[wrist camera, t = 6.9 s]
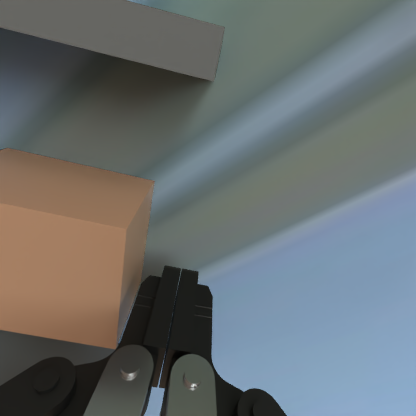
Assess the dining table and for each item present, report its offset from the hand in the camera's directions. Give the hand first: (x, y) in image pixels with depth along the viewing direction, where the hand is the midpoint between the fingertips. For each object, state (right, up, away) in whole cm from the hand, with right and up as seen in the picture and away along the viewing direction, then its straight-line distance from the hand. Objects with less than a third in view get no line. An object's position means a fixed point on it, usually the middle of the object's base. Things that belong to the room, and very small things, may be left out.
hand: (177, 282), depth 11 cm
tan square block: (-4, +3, +1) cm, 5 cm away
